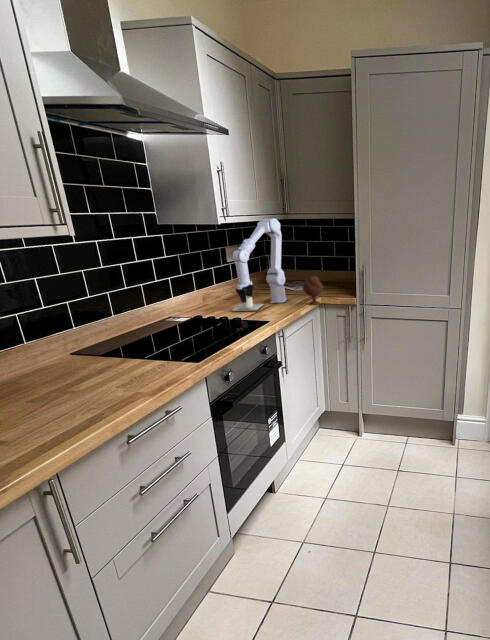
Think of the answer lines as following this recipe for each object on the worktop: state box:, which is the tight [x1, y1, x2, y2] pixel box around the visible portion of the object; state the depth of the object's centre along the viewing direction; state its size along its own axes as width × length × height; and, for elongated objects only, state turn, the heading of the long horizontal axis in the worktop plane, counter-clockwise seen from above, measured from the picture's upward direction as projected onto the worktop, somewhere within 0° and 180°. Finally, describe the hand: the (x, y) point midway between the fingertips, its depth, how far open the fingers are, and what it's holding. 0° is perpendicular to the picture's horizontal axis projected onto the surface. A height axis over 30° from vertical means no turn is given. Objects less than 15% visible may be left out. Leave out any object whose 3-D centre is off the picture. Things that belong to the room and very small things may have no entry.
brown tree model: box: [302, 275, 324, 306], centre depth 236 cm, size 11×11×15 cm
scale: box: [231, 303, 265, 313], centre depth 231 cm, size 14×13×1 cm
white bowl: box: [241, 295, 254, 308], centre depth 230 cm, size 6×6×5 cm
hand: (247, 300), depth 230 cm, fingers open, 7 cm apart
